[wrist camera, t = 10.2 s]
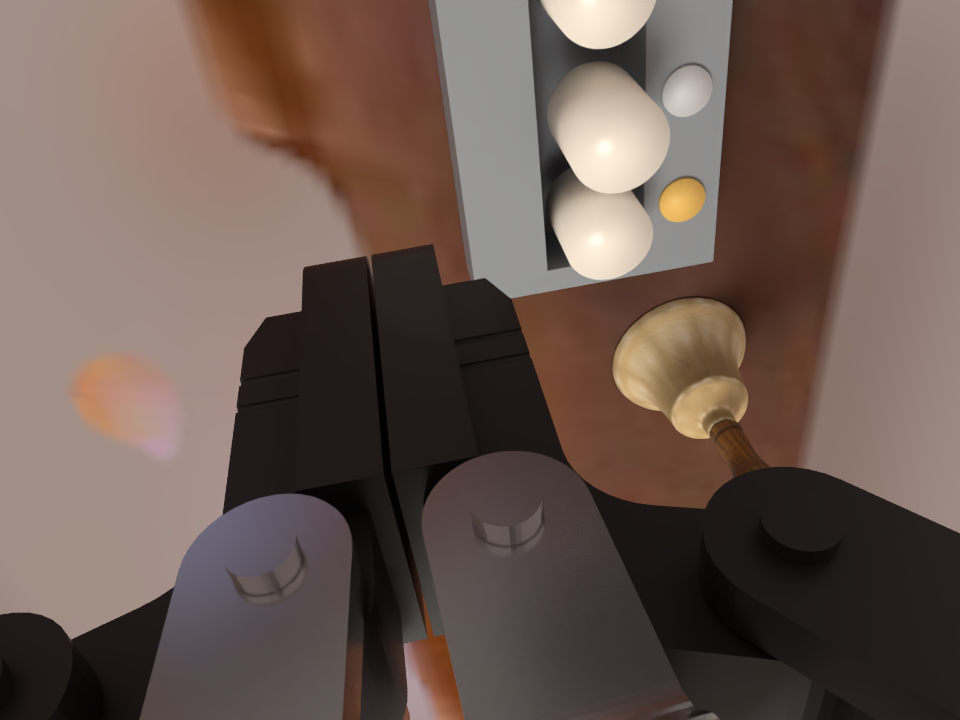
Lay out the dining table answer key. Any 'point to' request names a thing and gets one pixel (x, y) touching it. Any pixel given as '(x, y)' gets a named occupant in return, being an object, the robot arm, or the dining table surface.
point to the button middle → (607, 127)
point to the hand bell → (691, 373)
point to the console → (535, 153)
